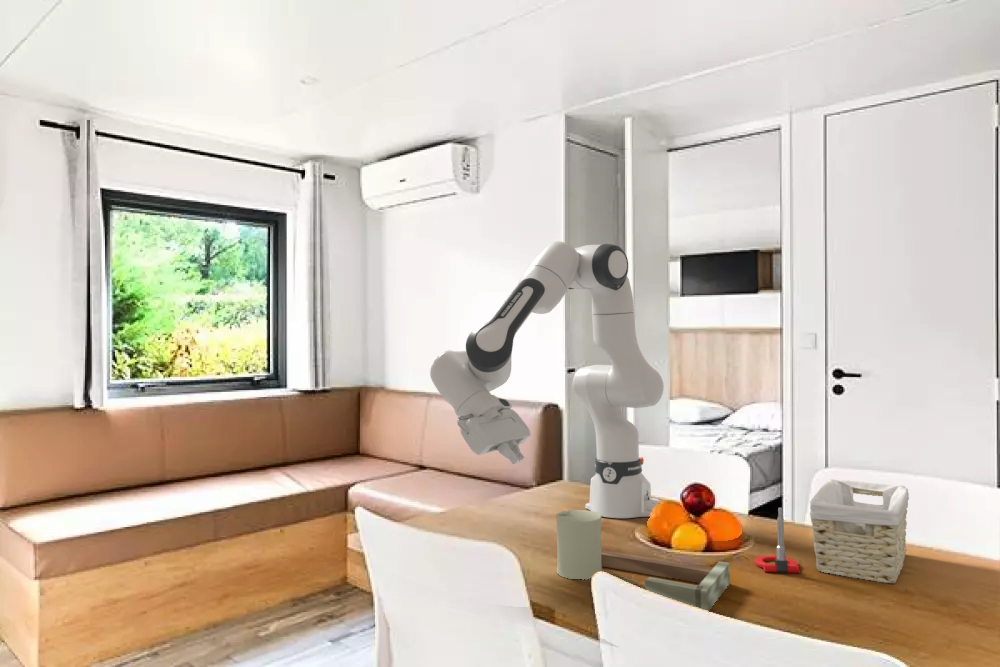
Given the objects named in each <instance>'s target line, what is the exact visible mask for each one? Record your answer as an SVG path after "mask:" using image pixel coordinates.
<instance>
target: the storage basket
mask: <svg viewBox="0 0 1000 667" xmlns="http://www.w3.org/2000/svg"><path fill="white" fill-rule="evenodd" d="M854 494H857V495H866V496H872V497H874V496H876V497H882V499H883V500H882V501H883V503H882V504H871V503H865V502H859V501H855V500H854ZM909 499H910V496H909V489H908V488H907V487H906V486H904V485H894V484H887V483H886V484H885V483H878V482H868V481H867V482H866V481H858V480H851V479H849V480H847V479H846V480H845V479H838V478H831V479H829V480H828V481H826V482H825V483H824V484H823V485H822V486H821V487H820V489H819V490H818V491H817V493H815V495H813V497H812V498H811V500H810V502H809V503H810V505H809V507H810V508H809V509H810V511H809V516H810V521H811V524H812V526H811V527H812V528H811V529H812V534H813V547H814V553H815V557H816V558H815V561H816V569H817V571H819V572H820V571H821V573H823V572H824V573H823V574H828V573H830V574H829V575H835V574H836V575H835V576H839V575H841V576H840V577H848V578H851V577H852V578H851V579H857V578H859V579H858V580H862V579H865V580H864V581H868V580H871V581H872V582H876V581H877V582H876V583H879V582H884V583H883V584H896V582H897V581H898V577H899V575H900V574H901V571H902V570H903V566H904V561H905V558H906V551H907V545H906V542H907V541H906V536H907V531H906V529H907V526H908V525H907V524H908V522H907V514H908V506H909ZM871 581H870V582H871Z"/></svg>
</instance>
